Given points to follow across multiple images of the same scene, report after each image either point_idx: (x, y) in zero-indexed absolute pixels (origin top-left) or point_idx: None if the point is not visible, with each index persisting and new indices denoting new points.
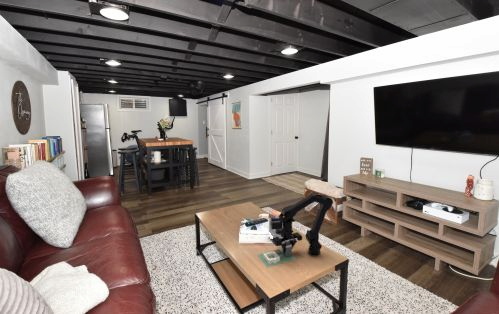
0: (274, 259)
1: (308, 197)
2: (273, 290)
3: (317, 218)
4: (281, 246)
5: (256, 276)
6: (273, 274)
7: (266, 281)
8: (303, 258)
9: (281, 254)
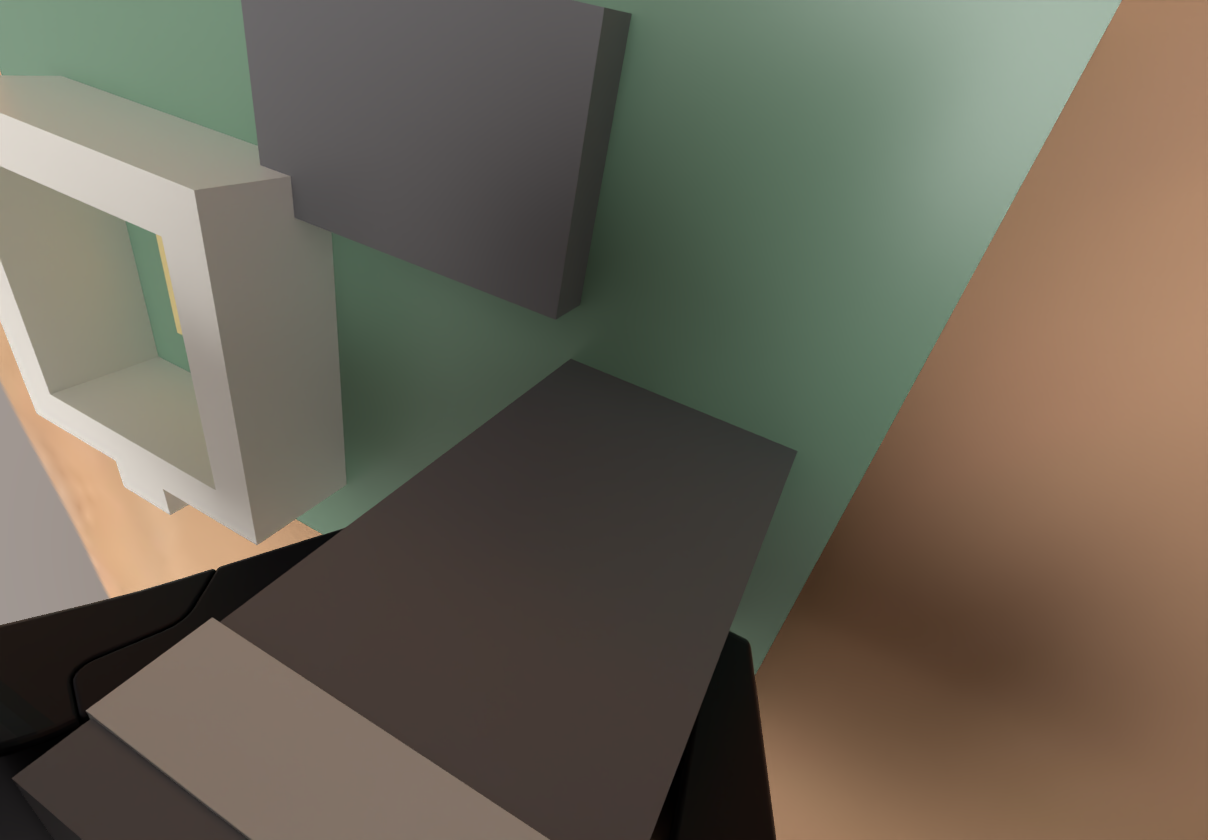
0: (135, 487)
1: None
2: None
3: None
4: (170, 583)
5: (22, 383)
6: (203, 530)
7: (115, 528)
8: (972, 826)
9: (529, 333)
